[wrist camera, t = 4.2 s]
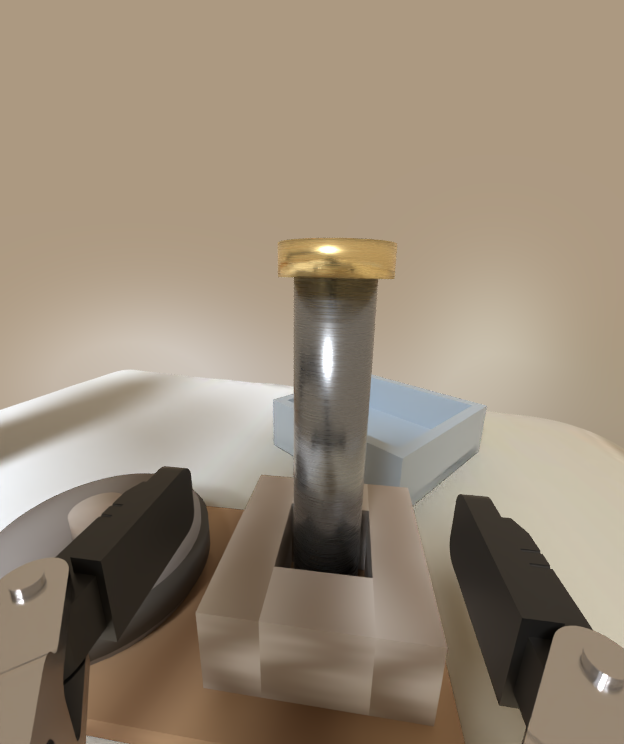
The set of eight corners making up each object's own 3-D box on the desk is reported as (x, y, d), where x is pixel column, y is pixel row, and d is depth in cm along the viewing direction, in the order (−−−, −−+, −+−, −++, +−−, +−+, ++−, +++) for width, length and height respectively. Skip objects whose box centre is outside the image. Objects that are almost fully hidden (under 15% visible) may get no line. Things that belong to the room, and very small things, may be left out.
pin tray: (273, 444, 35) (273, 399, 34) (363, 408, 45) (366, 373, 43) (396, 519, 24) (402, 458, 23) (478, 451, 34) (486, 405, 33)
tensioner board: (-111, 697, 14) (-158, 600, 12) (100, 506, 25) (89, 444, 24) (471, 809, 11) (498, 702, 10) (412, 539, 23) (420, 472, 21)
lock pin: (264, 596, 17) (254, 243, 13) (324, 551, 20) (334, 250, 15) (324, 667, 14) (340, 234, 9) (384, 602, 17) (420, 245, 12)
